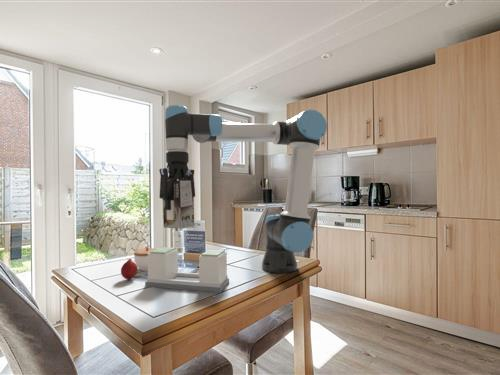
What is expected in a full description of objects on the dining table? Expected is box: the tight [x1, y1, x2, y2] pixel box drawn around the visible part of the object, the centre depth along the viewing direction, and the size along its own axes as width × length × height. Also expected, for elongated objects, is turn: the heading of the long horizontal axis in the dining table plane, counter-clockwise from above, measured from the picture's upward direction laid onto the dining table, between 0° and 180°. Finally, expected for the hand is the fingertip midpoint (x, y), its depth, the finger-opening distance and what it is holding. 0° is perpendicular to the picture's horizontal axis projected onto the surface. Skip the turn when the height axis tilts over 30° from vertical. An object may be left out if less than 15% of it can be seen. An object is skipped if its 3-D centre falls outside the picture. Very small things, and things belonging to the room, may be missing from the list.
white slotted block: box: [144, 246, 230, 293], centre depth 101 cm, size 28×10×12 cm, turn 77°
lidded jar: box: [133, 246, 157, 272], centre depth 121 cm, size 11×11×9 cm
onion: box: [120, 258, 139, 281], centre depth 106 cm, size 6×6×8 cm
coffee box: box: [162, 180, 195, 230], centre depth 96 cm, size 9×6×16 cm
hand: (178, 218), depth 96 cm, fingers closed on coffee box, 6 cm apart
